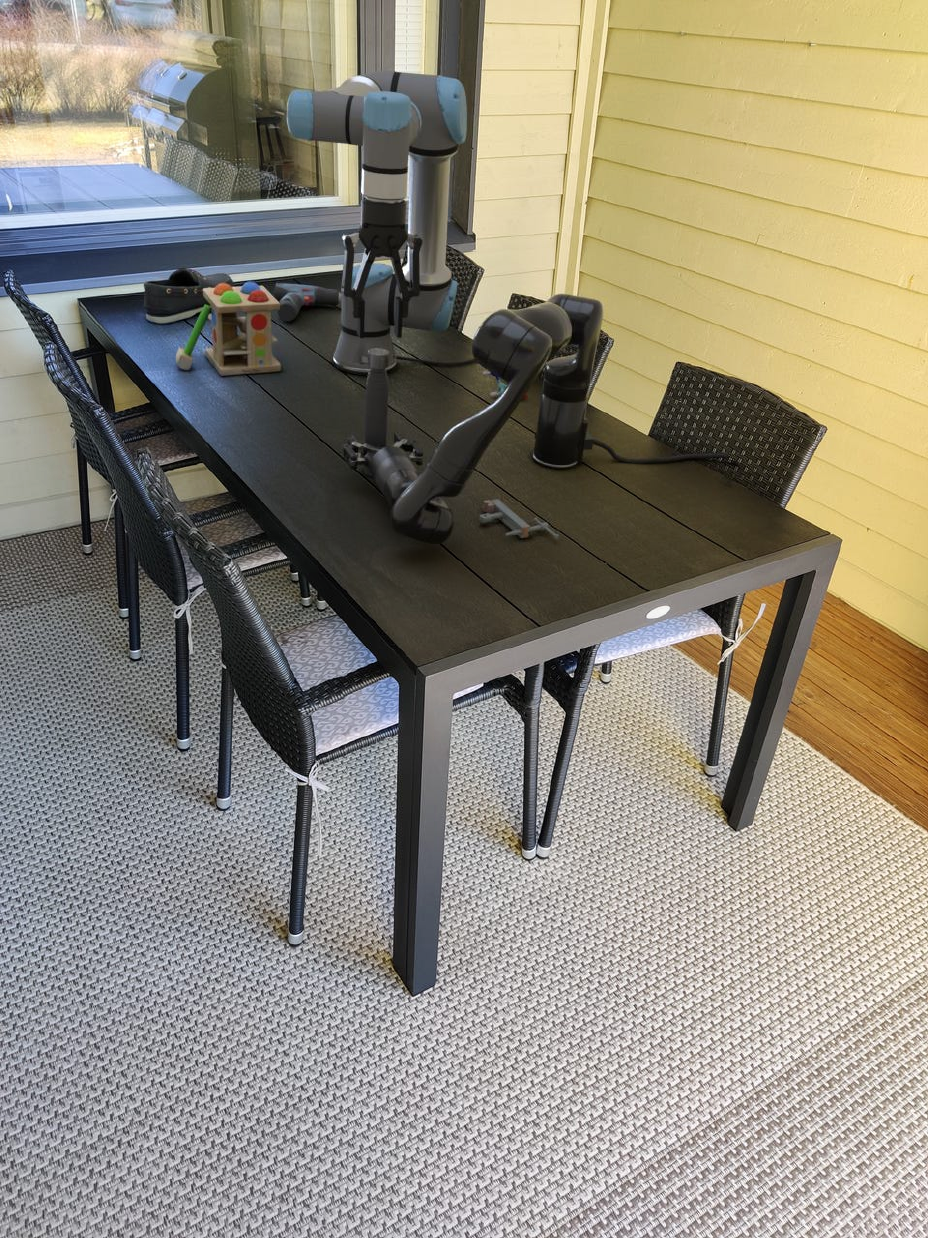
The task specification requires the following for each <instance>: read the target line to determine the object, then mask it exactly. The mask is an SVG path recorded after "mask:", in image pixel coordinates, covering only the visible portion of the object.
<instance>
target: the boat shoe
mask: <svg viewBox="0 0 928 1238" xmlns="http://www.w3.org/2000/svg"><path fill="white" fill-rule="evenodd" d="M221 283H226V284H228V285H230V286H231V287H235V283H234V280H233V279H232V278H231V276H230V275H229V274H227V273H224V272H223V273H222V272H221V273H214V274H208V275H205V276H204V275H203V274H201V273H200V272H199V271H197V270H195V269H191V268H187V267H180V268H177V269H176V270H174V271H173V272H172V273H171V274H170V275H169V277H167V278H166V279H161V280H147V281H144V282H143V288H144V289H143V290H144V304H143V308H144V309H145V310H146V311H145V316H146V317H145V318H146V320H147V321H149V322H151V323H155V324H169V323H174V322H178V321H180V320H184V319H188V318H191V317H194V315H196V314H197V313H201V311H202V309H203V307H204V305H208V306H210V307H211V305H210V304H209V302H208V301H207V300H206V299H205V297H204V296H203V289H204V288H215V287H216V286H217V285H218V284H221Z"/></svg>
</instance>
